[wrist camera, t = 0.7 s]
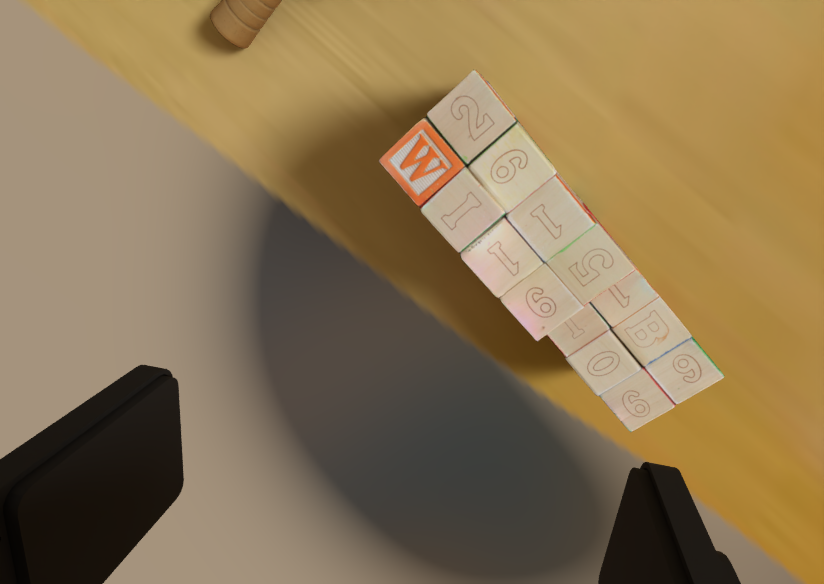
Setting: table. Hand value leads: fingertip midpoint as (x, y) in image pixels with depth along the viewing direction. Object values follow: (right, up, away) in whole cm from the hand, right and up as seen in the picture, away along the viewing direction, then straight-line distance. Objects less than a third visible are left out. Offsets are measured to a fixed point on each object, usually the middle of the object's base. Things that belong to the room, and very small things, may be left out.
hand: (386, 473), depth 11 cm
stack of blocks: (+10, +8, +27) cm, 30 cm away
